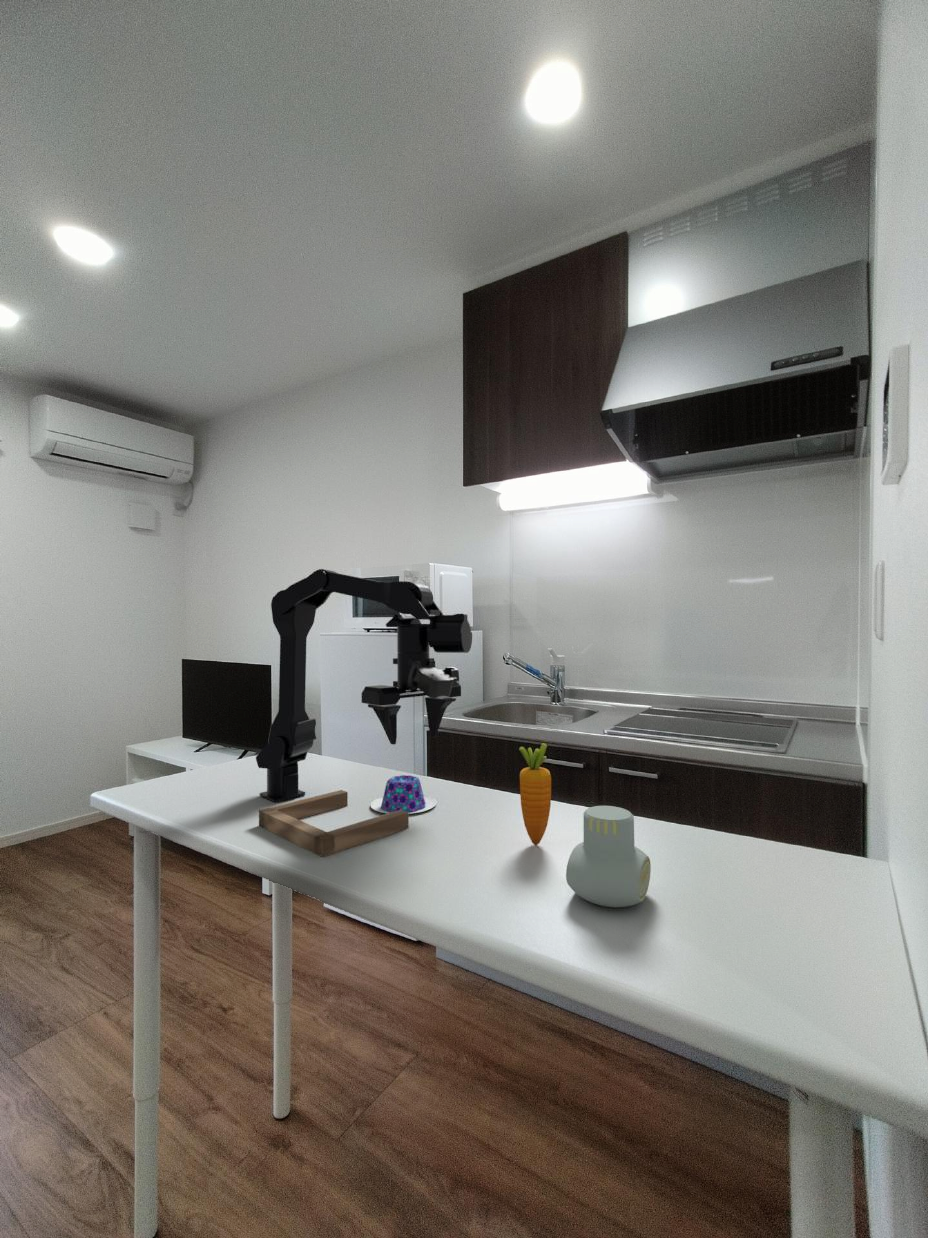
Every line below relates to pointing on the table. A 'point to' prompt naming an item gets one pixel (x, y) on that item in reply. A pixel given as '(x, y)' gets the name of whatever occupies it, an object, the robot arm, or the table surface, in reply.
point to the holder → (326, 843)
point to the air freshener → (609, 860)
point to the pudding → (403, 796)
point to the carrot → (535, 793)
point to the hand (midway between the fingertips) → (413, 740)
